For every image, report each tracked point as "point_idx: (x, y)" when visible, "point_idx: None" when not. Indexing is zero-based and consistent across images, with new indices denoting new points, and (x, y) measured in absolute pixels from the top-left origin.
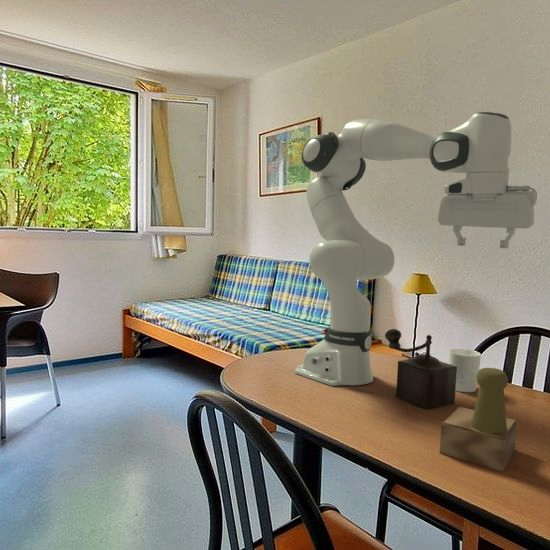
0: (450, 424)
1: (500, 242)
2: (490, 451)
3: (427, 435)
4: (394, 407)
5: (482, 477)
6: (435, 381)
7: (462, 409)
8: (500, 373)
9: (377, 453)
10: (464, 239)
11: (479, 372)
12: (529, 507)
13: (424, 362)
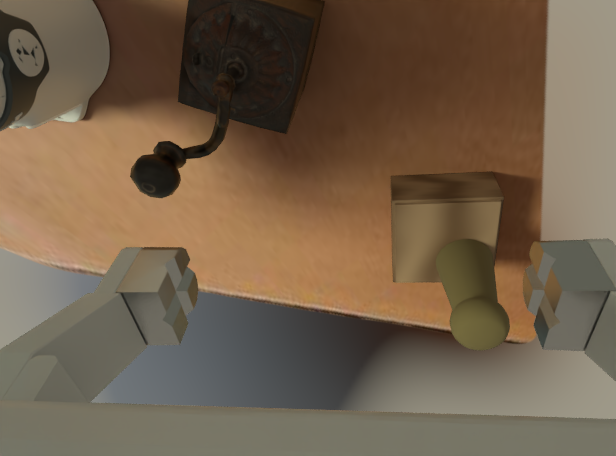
0: (407, 281)
1: (539, 332)
2: None
3: (353, 212)
4: (245, 136)
5: None
6: (296, 102)
7: (404, 214)
8: (498, 342)
9: (326, 300)
10: (176, 316)
11: (458, 341)
12: (521, 307)
13: (248, 101)
